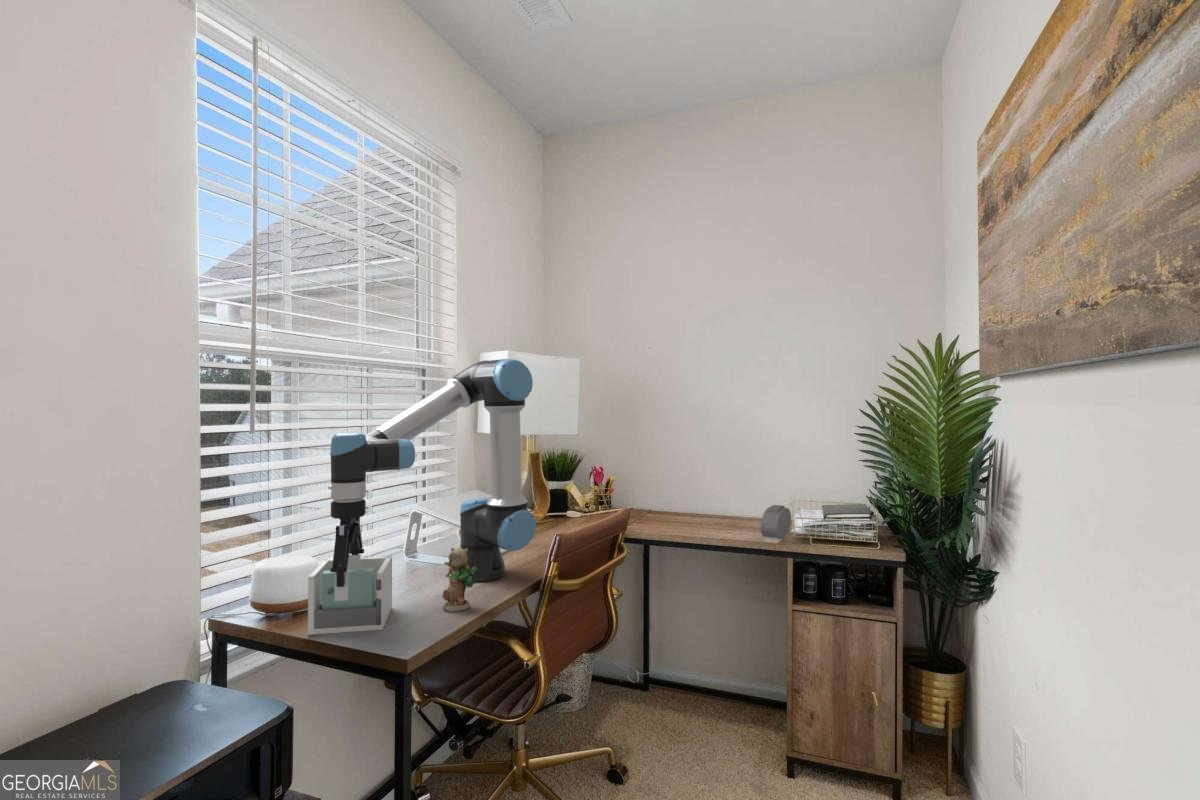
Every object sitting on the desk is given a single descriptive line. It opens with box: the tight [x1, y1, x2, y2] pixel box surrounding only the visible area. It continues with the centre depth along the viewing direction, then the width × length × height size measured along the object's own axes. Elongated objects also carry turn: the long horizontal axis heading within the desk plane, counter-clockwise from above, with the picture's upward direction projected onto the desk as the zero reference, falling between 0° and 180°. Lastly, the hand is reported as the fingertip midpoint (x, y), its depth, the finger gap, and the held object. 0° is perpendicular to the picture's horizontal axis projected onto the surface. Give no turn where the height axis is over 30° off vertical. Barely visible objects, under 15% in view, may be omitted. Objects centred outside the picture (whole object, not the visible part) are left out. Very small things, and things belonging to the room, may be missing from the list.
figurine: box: [442, 547, 478, 613], centre depth 152 cm, size 9×8×15 cm
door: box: [322, 568, 374, 610], centre depth 138 cm, size 11×4×12 cm, turn 101°
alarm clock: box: [759, 504, 792, 542], centre depth 227 cm, size 23×6×13 cm, turn 150°
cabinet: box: [307, 555, 393, 636], centre depth 143 cm, size 16×15×13 cm
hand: (348, 590), depth 139 cm, fingers open, 13 cm apart
